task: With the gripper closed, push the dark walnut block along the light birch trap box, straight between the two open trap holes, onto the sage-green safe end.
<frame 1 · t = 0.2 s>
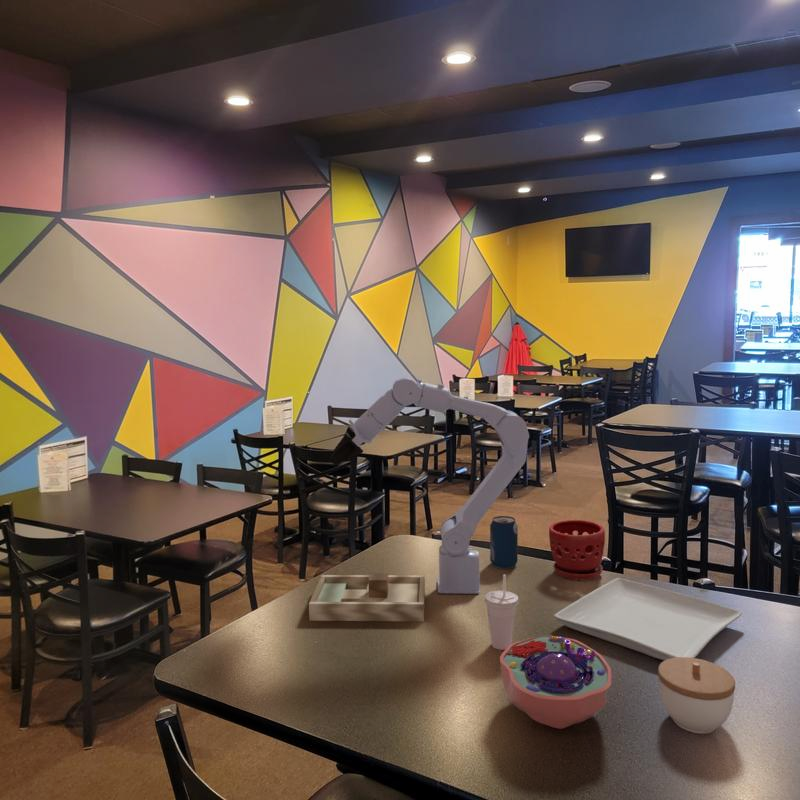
hand: (334, 458, 152), 31 cm above the table, tool tilted 45°, fingers open, 7 cm apart
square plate: (647, 630, 133), on the table
cell model: (553, 713, 105), on the table
trap box: (370, 604, 146), on the table
lidded jar: (694, 723, 102), on the table
plant pot: (576, 574, 162), on the table
smoothie: (501, 646, 127), on the table
walnut block: (378, 594, 146), point 2 cm above the table, touching trap box
soda can: (503, 565, 169), on the table
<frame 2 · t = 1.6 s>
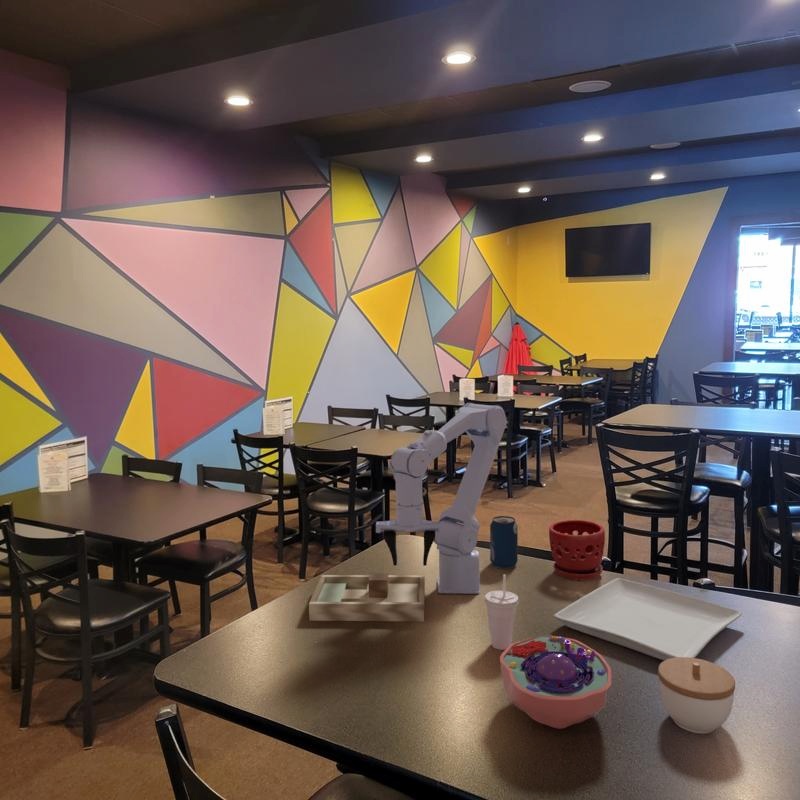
hand: (410, 563, 145), 9 cm above the table, tool pointing down, fingers open, 6 cm apart
nothing on the table moved.
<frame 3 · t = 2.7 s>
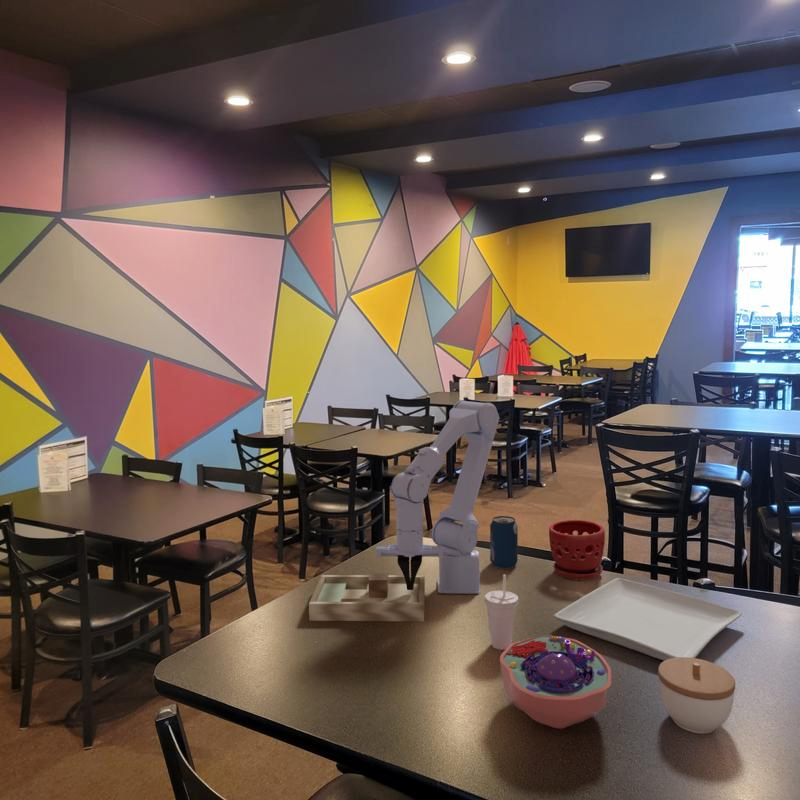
hand: (410, 588, 145), 4 cm above the table, tool pointing down, fingers closed
nothing on the table moved.
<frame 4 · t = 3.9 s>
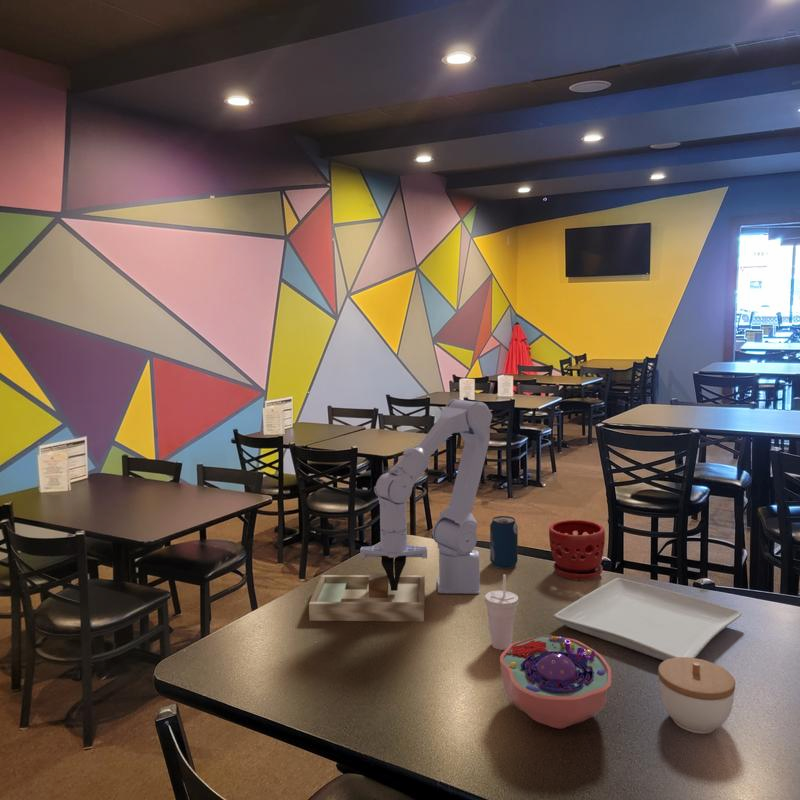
hand: (394, 588, 145), 4 cm above the table, tool pointing down, fingers closed
walnut block: (378, 594, 146), point 2 cm above the table, touching gripper, trap box
everything else where it was.
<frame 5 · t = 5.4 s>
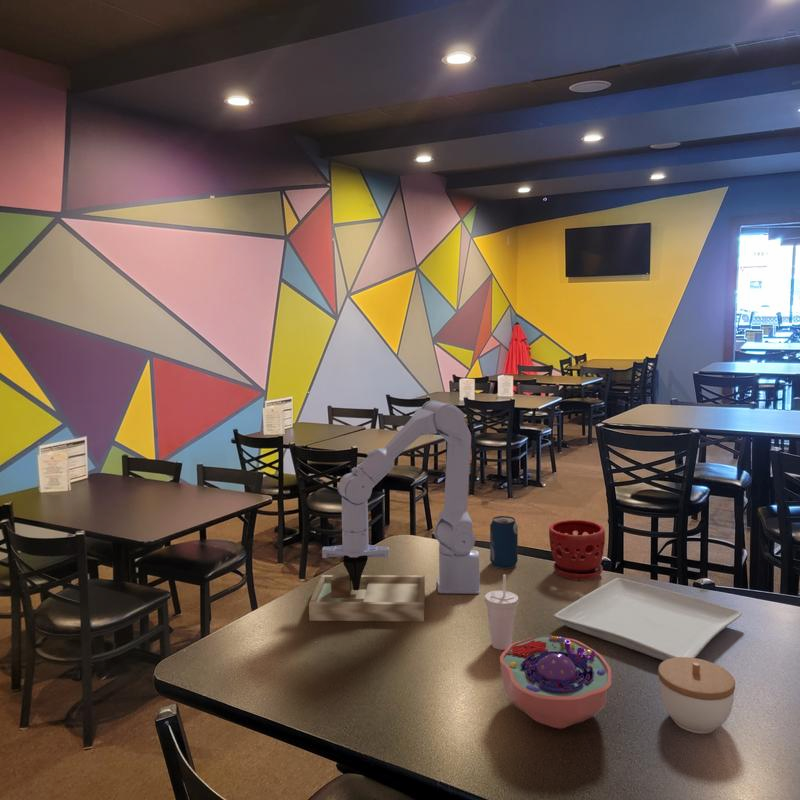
hand: (356, 588, 146), 4 cm above the table, tool pointing down, fingers closed
walnut block: (341, 594, 146), point 3 cm above the table, touching gripper, trap box
everything else where it was.
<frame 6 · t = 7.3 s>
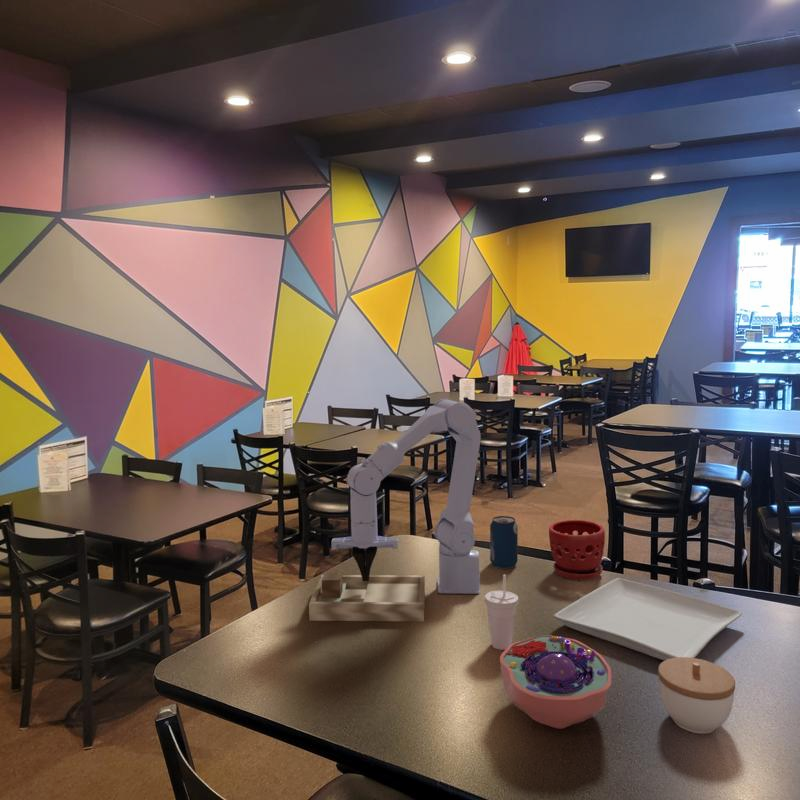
hand: (366, 579, 147), 5 cm above the table, tool pointing down, fingers closed
walnut block: (332, 594, 146), point 2 cm above the table, touching trap box
everything else where it was.
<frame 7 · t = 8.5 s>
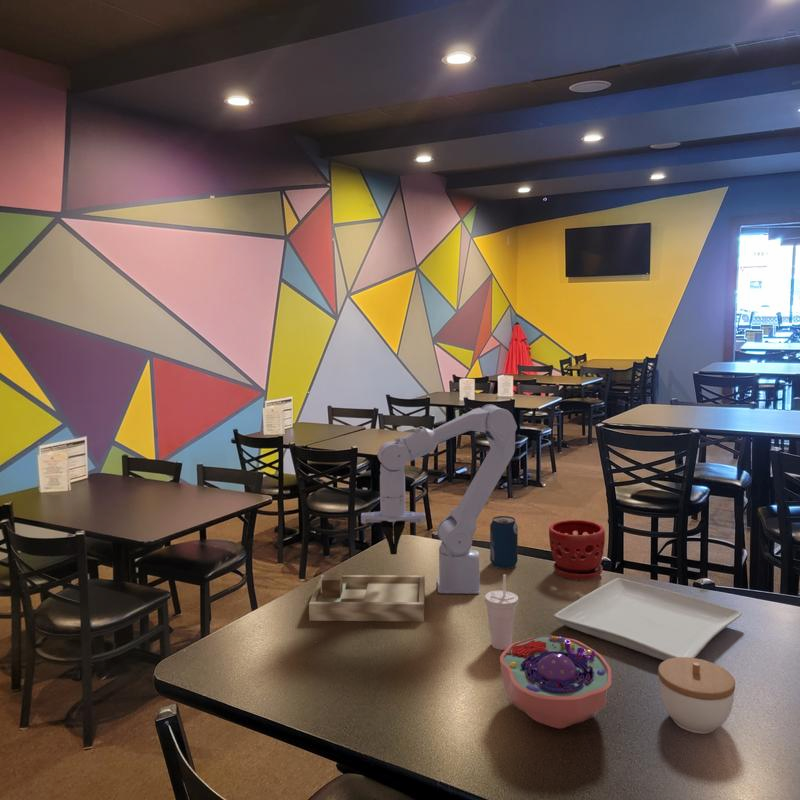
hand: (393, 552, 152), 9 cm above the table, tool pointing down, fingers closed
nothing on the table moved.
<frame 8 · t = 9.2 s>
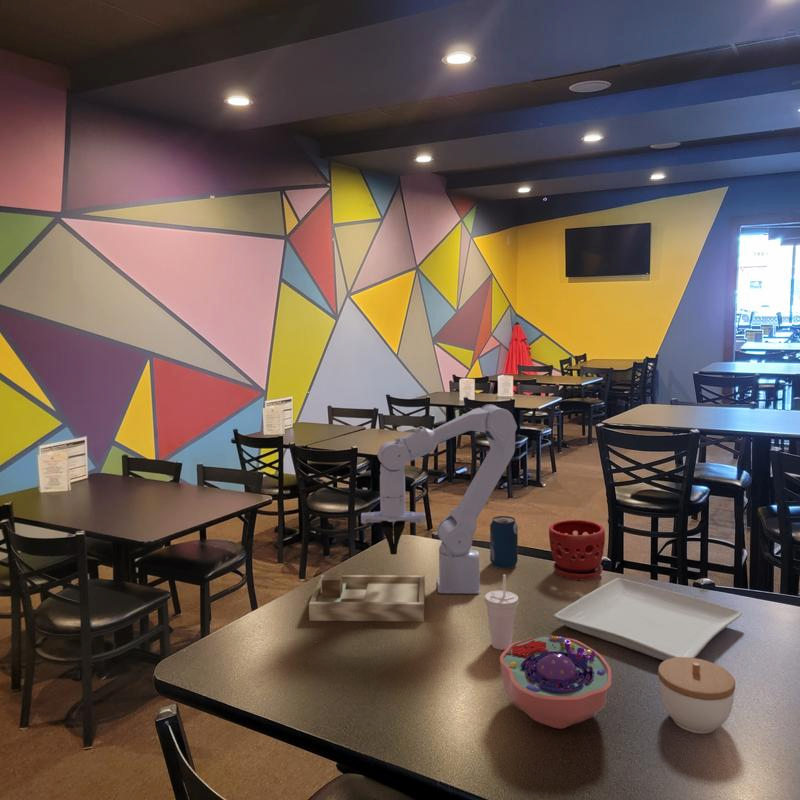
hand: (393, 552, 152), 9 cm above the table, tool pointing down, fingers closed
nothing on the table moved.
at the end: walnut block 0.3 cm from the target spot on the trap box, point 2.5 cm above the trap box's base; walnut block tilted 0° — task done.
